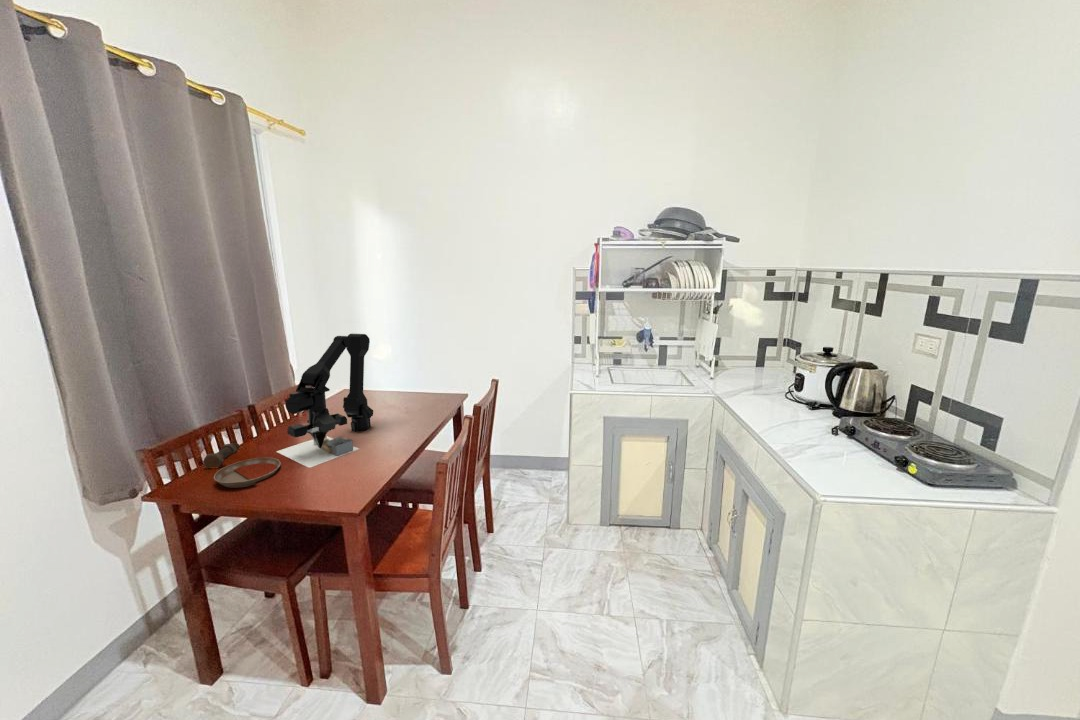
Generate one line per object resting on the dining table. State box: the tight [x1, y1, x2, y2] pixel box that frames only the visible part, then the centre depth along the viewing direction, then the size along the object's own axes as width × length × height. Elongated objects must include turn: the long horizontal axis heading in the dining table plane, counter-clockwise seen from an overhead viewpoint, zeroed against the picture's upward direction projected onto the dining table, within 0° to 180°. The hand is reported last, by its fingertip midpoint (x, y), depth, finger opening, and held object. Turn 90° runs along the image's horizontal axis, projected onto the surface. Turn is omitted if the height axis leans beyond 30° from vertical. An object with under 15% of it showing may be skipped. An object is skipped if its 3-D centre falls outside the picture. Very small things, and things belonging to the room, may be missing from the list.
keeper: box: [327, 436, 354, 457], centre depth 154 cm, size 6×7×4 cm
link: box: [312, 435, 332, 453], centre depth 158 cm, size 15×4×4 cm, turn 46°
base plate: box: [275, 435, 360, 469], centre depth 156 cm, size 18×23×1 cm
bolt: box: [202, 441, 240, 469], centre depth 152 cm, size 6×5×15 cm
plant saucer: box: [213, 457, 281, 489], centre depth 139 cm, size 18×18×3 cm
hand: (320, 448), depth 156 cm, fingers closed
